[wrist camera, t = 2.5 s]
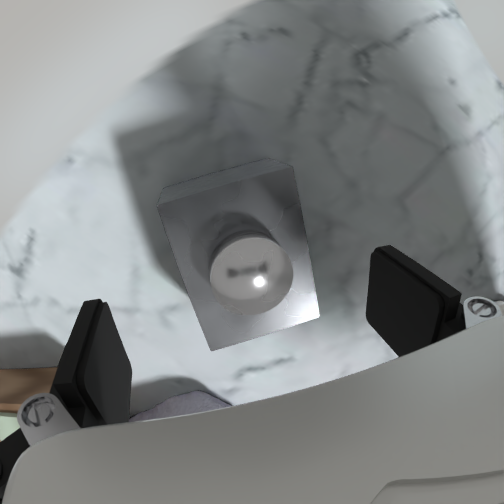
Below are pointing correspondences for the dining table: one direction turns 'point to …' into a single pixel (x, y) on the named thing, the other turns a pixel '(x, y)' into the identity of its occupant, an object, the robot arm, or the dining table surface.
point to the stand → (20, 393)
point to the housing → (241, 250)
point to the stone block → (182, 406)
